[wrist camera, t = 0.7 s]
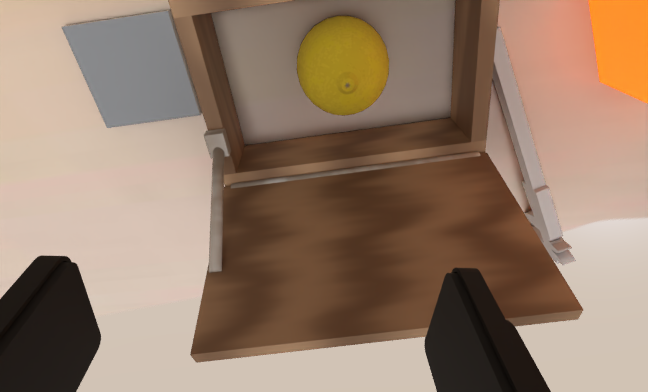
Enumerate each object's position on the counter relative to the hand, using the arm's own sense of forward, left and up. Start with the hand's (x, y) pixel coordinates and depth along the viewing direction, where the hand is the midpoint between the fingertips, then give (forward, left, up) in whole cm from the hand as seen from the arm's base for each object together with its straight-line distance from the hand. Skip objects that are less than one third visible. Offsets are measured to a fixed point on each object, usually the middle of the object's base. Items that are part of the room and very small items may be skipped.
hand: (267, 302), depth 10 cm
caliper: (-16, +7, -22) cm, 28 cm away
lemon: (-3, -1, -21) cm, 22 cm away
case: (-3, +1, -21) cm, 21 cm away
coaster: (+11, -2, -21) cm, 24 cm away
